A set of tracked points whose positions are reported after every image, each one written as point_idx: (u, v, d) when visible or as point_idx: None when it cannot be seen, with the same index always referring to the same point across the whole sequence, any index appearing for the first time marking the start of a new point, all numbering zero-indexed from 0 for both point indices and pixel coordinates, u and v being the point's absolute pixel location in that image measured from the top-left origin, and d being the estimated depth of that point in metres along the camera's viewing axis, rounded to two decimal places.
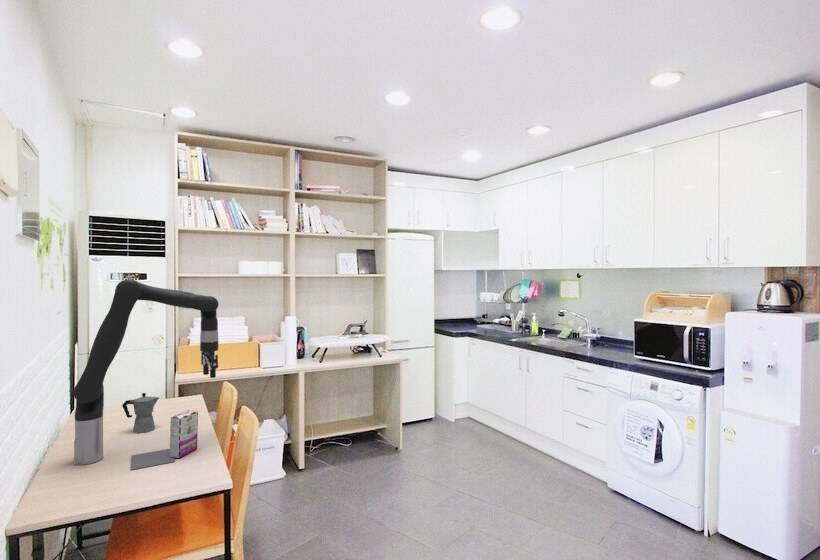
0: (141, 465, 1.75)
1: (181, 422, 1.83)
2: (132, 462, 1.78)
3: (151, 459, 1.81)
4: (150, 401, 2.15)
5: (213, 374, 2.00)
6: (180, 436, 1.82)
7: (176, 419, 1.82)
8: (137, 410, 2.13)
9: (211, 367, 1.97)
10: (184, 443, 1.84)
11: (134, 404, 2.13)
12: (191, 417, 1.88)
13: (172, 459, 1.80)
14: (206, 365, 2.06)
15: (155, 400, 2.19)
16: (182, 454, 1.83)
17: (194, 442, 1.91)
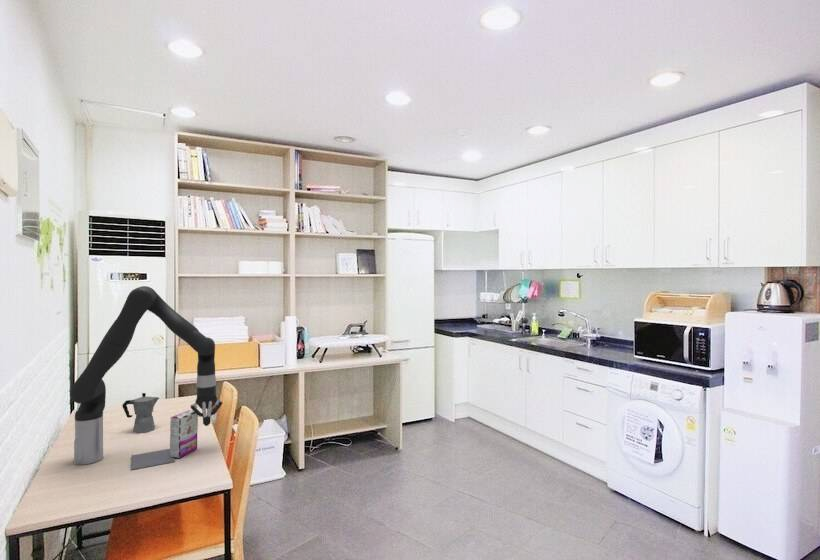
0: (141, 465, 1.75)
1: (181, 422, 1.83)
2: (132, 462, 1.78)
3: (151, 459, 1.81)
4: (150, 401, 2.15)
5: None
6: (180, 435, 1.82)
7: (176, 419, 1.82)
8: (137, 410, 2.13)
9: (213, 413, 1.92)
10: (184, 443, 1.84)
11: (134, 404, 2.13)
12: (191, 417, 1.88)
13: (172, 459, 1.80)
14: None
15: (155, 400, 2.19)
16: (182, 454, 1.83)
17: (194, 442, 1.91)
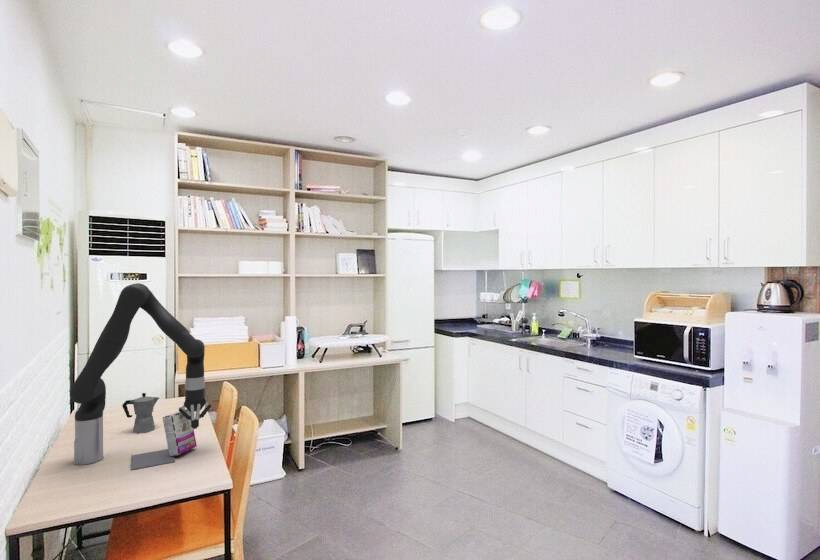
0: (141, 465, 1.75)
1: (174, 419, 1.84)
2: (132, 462, 1.78)
3: (151, 459, 1.81)
4: (150, 401, 2.15)
5: None
6: (175, 433, 1.83)
7: (168, 417, 1.83)
8: (137, 410, 2.13)
9: (202, 416, 1.90)
10: (181, 440, 1.85)
11: (134, 404, 2.13)
12: None
13: (172, 459, 1.80)
14: None
15: (155, 400, 2.19)
16: (181, 451, 1.84)
17: (192, 439, 1.91)
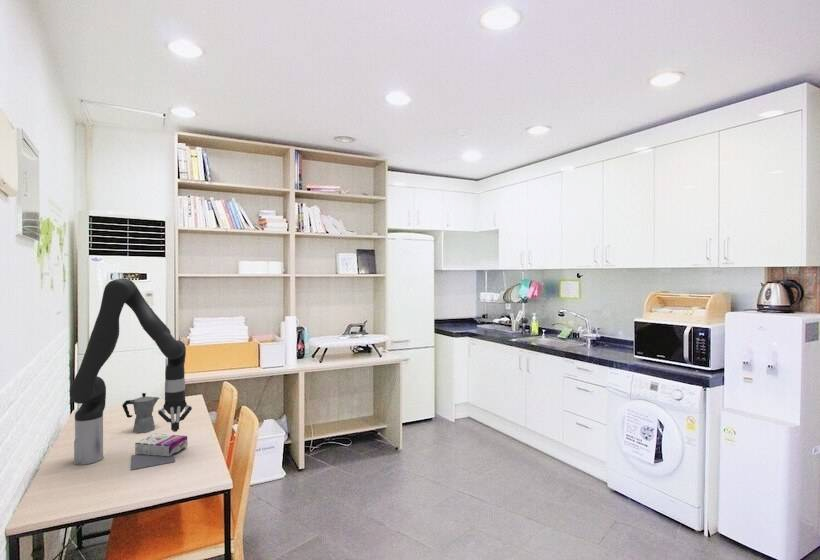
0: (141, 465, 1.75)
1: (140, 442, 1.86)
2: (132, 462, 1.78)
3: (151, 459, 1.81)
4: (150, 401, 2.15)
5: None
6: (151, 443, 1.85)
7: (136, 446, 1.86)
8: (137, 410, 2.13)
9: (182, 418, 1.86)
10: (163, 442, 1.86)
11: (134, 404, 2.13)
12: (150, 437, 1.92)
13: (172, 459, 1.80)
14: (174, 421, 1.86)
15: (155, 400, 2.19)
16: (170, 443, 1.85)
17: (177, 436, 1.92)
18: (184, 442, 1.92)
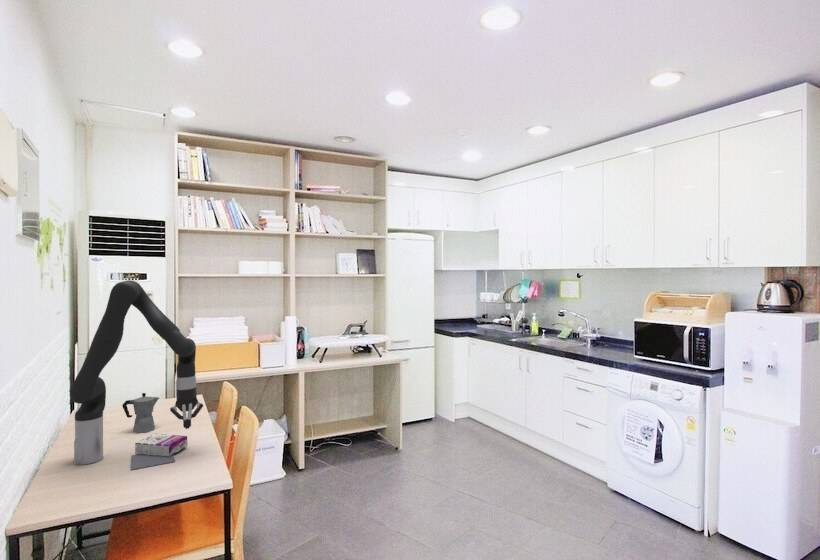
0: (141, 465, 1.75)
1: (140, 442, 1.86)
2: (132, 462, 1.78)
3: (151, 459, 1.81)
4: (150, 401, 2.15)
5: None
6: (151, 443, 1.85)
7: (136, 446, 1.86)
8: (137, 410, 2.13)
9: (194, 415, 1.88)
10: (163, 442, 1.86)
11: (134, 404, 2.13)
12: (150, 437, 1.92)
13: (172, 459, 1.80)
14: None
15: (155, 400, 2.19)
16: (170, 443, 1.85)
17: (177, 436, 1.92)
18: (184, 442, 1.92)
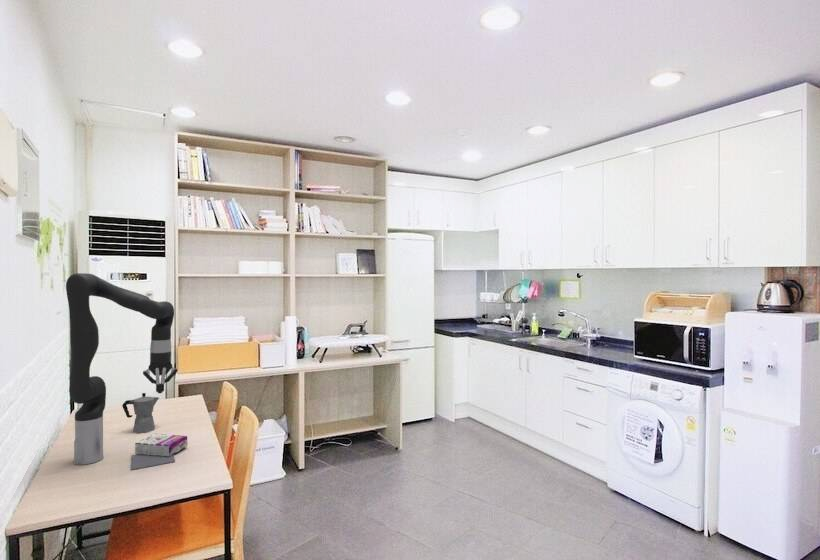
0: (141, 465, 1.75)
1: (140, 442, 1.86)
2: (132, 462, 1.78)
3: (151, 459, 1.81)
4: (150, 401, 2.15)
5: None
6: (151, 443, 1.85)
7: (136, 446, 1.86)
8: (137, 410, 2.13)
9: (167, 380, 1.83)
10: (163, 442, 1.86)
11: (134, 404, 2.13)
12: (150, 437, 1.92)
13: (172, 459, 1.80)
14: (159, 382, 1.83)
15: (155, 400, 2.19)
16: (170, 443, 1.85)
17: (177, 436, 1.92)
18: (184, 442, 1.92)
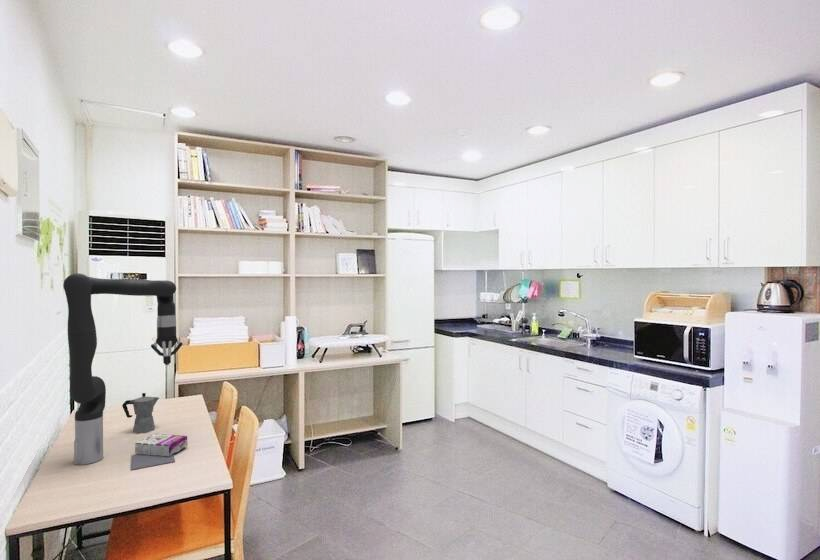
0: (141, 465, 1.75)
1: (140, 442, 1.86)
2: (132, 462, 1.78)
3: (151, 459, 1.81)
4: (150, 401, 2.15)
5: None
6: (151, 443, 1.85)
7: (136, 446, 1.86)
8: (137, 410, 2.13)
9: (173, 353, 1.99)
10: (163, 442, 1.86)
11: (134, 404, 2.13)
12: (150, 437, 1.92)
13: (172, 459, 1.80)
14: (166, 355, 1.99)
15: (155, 400, 2.19)
16: (170, 443, 1.85)
17: (177, 436, 1.92)
18: (184, 442, 1.92)
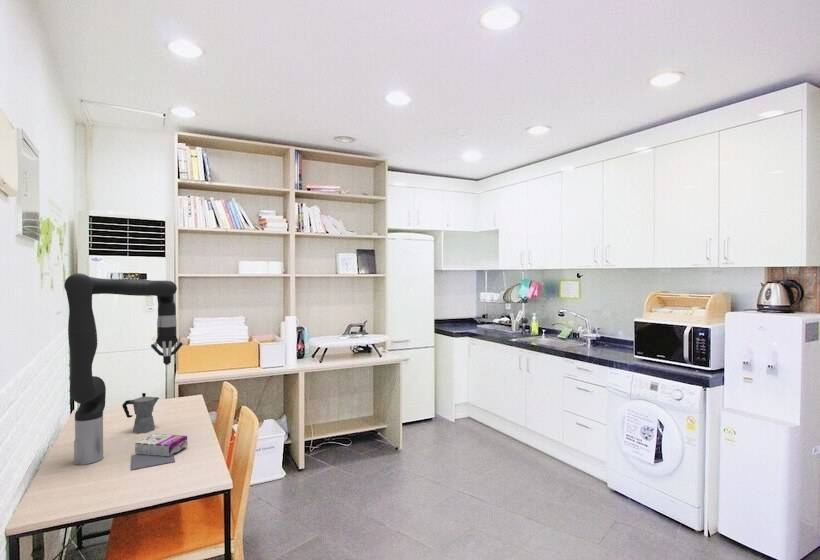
0: (141, 465, 1.75)
1: (140, 442, 1.86)
2: (132, 462, 1.78)
3: (151, 459, 1.81)
4: (150, 401, 2.15)
5: None
6: (151, 443, 1.85)
7: (136, 446, 1.86)
8: (137, 410, 2.13)
9: (173, 353, 1.99)
10: (163, 442, 1.86)
11: (134, 404, 2.13)
12: (150, 437, 1.92)
13: (172, 459, 1.80)
14: None
15: (155, 400, 2.19)
16: (170, 443, 1.85)
17: (177, 436, 1.92)
18: (184, 442, 1.92)
